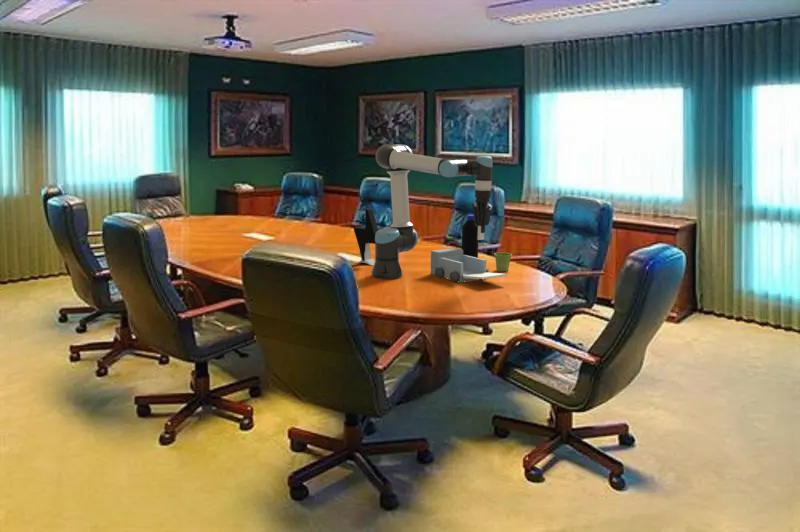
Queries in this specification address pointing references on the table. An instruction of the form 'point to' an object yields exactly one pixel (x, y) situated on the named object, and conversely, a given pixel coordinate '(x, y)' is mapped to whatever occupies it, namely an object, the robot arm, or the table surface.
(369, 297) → the table surface
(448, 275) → the truck bed
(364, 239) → the award
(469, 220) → the bottle
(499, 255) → the plant pot
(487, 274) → the tailgate
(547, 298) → the table surface
